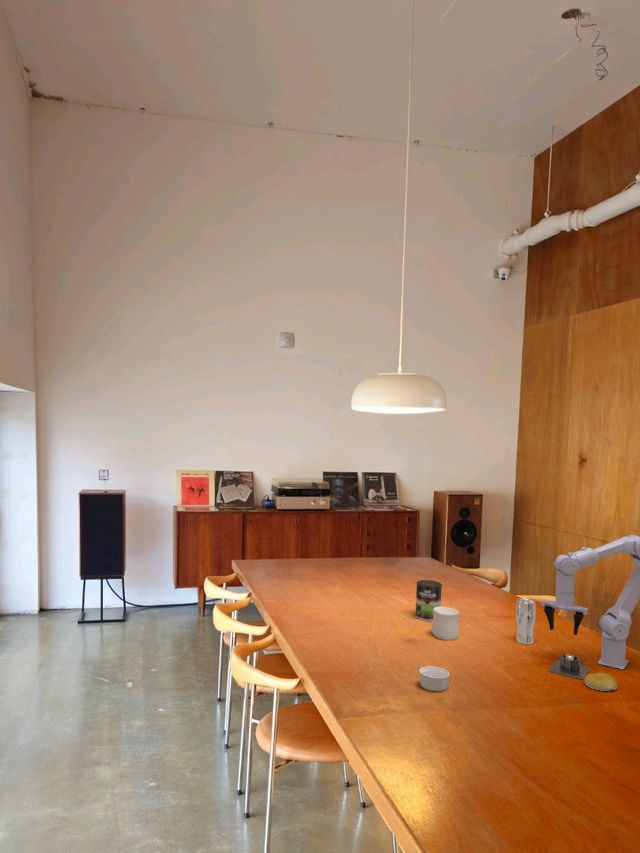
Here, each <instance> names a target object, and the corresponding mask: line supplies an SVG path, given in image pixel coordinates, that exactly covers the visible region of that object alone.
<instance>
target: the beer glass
mask: <svg viewBox="0 0 640 853" xmlns="http://www.w3.org/2000/svg"><path fill="white" fill-rule="evenodd" d="M515 604H516V605H515V606H516V607H515V620H516V627H517V631H516V632H517V634H516V637H515V640H516V642H517V643H519V644H523V645H533V644H534V637H533V636H534V635H533V632H534V626H535V624H536V623H535V622H536V617H537V616H536V615H537V611H536V610H537V608H536V606H537V605H536V601H535V600H533V599H530V598H525V597H524V598H517V599H516V603H515Z"/></svg>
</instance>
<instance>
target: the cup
mask: <svg viewBox="0 0 640 853" xmlns="http://www.w3.org/2000/svg"><path fill="white" fill-rule="evenodd" d="M459 617H460V611H459V610H457V609H455V608H453V607H448V606H439V607H434V608H433V621H432V623H431V624H432V626H431V633H432V636H434V637H435V638H436V637H437V638H436V639H438V638H439V639H438V640H441V639H442V641H454V640H457V638H458V637H459Z"/></svg>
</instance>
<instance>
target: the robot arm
mask: <svg viewBox="0 0 640 853" xmlns="http://www.w3.org/2000/svg"><path fill="white" fill-rule="evenodd" d="M620 553H626V554H629V555H630V556H631V558H632V560H633V562H634V565H635V567H634V569H633V571H632V572H631V574H630V575H629V578H628V580H627V581H626V584H625V585H624V588H622V591H621V593H620V594H619V597H618V598H617V600H616V602H615V604H614V605H613V606H612V607H610V608H608V609H607V611H606V613H604V614H603V615H602V616H600V618H599V622H598V624H599V628H601V630H602V632H601V651H600V653H601V655H600V659H599V660H598V661H597V664H598V665H602V666H607V667H611V668H615V669H618V668H619V670H623V669H624V668H625V669H626V668H627V666H628V663H629V659H628V660H627V659H626V651H627V650H626V649H627V648H626V646H627V643H626V639H627V638H628V637H629V635H630V628H631V625H632V617H631V615H632V613H633V611H634V609H635V608H636V605H637V603H638V602H639V600H640V535H639V536H638V535H637V534H629V535H627V536H622V537H620V538H618V539H616V540H614V541H611V542H608V543H607V544H604V545H601V546H599V547H597V548H594V549H593V548H591V547H585V546H583V547H581V548H580V549H579V550H577V551H575V552H571V551H570V552H567V554H566V555H565V554H560V555H558V556H557V558H555V560H554V562H553V565H554V568H555V569H556V576H555V578H556V579H555V600H547V599H543V600H541V607H543V608H544V609H543V611H544V614H545V616H546V618H547V622H548V626H549V630H551V631H552V630H554V628H555V620H554V619H555V610H559V611H560V610H562V611H565V612H571V613H574V614H573V635H574V636H577V635H578V632H579V628H580V625H581V623H582V620H583V619H584V617H585V616H587V615H588V613H589V608H588V607H584V606H580V605H577V604H574V603H575V602H574V601H575V574H576V573H577V572H578V571H579V570H582V569H586V568H588V567H590V566H593V565H596V564H597V563H598V560H600V559H603V558H605V557H606V558H607V557H609V556H613V555H616V554H620ZM625 669H624V670H625Z"/></svg>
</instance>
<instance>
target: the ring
mask: <svg viewBox="0 0 640 853" xmlns="http://www.w3.org/2000/svg"><path fill="white" fill-rule="evenodd" d="M566 655H571V654H568V653H565V654H563V653H562V654H561V655H560V659H559V660H560V667H561V668H562V669H563V670H566V671H570V672H578V671H579V670H580V665H581V658H580V657H578V656H576V655H573V654H572V655H573V656H574V660H569V659H566Z"/></svg>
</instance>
